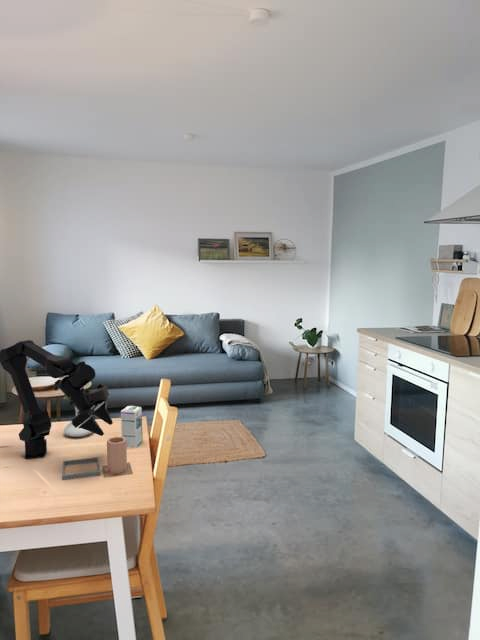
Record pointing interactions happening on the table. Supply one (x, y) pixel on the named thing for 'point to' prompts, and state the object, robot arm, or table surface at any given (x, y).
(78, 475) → the charcoal tray
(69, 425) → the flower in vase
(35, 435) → the robot arm
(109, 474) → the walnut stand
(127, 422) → the syrup box
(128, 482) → the table surface
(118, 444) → the ring tube
